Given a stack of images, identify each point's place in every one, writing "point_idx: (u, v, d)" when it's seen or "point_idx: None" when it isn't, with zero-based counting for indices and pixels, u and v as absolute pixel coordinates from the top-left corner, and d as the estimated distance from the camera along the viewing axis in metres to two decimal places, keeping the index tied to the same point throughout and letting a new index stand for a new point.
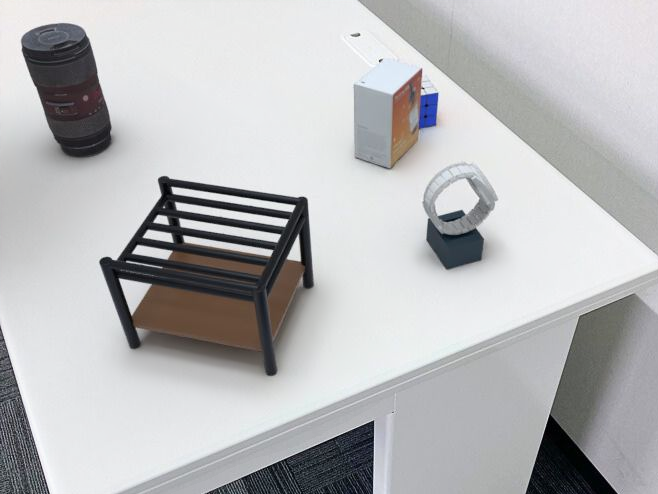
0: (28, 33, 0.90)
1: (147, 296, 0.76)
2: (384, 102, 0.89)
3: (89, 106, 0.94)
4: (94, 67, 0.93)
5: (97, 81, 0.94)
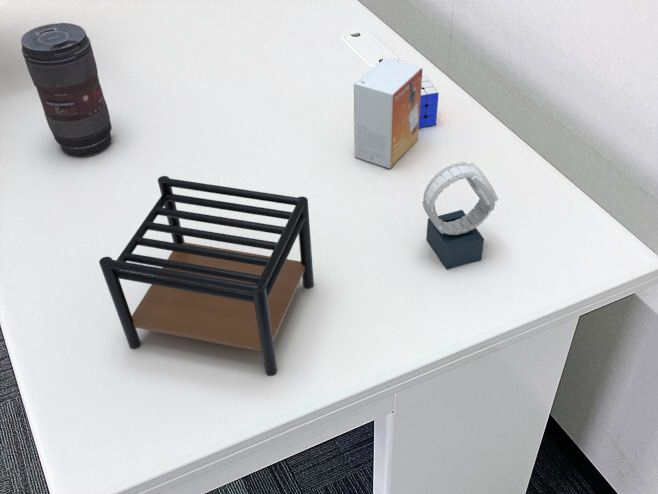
0: (28, 33, 0.90)
1: (147, 296, 0.76)
2: (384, 102, 0.89)
3: (89, 106, 0.94)
4: (94, 67, 0.93)
5: (97, 81, 0.94)
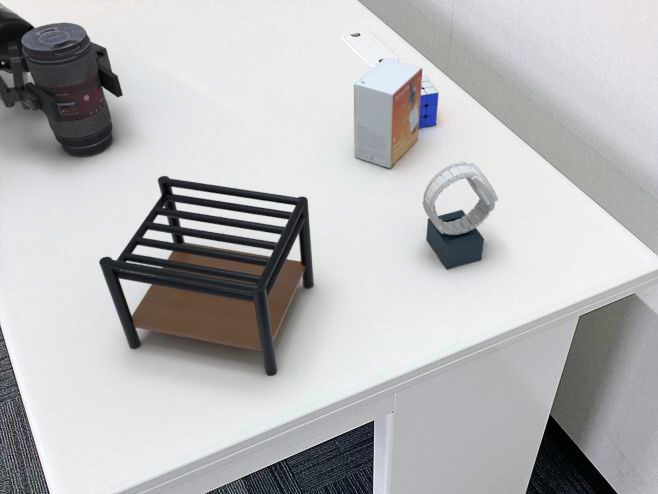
0: (29, 33, 0.90)
1: (147, 296, 0.76)
2: (384, 103, 0.89)
3: (90, 105, 0.94)
4: (95, 67, 0.93)
5: (98, 81, 0.94)
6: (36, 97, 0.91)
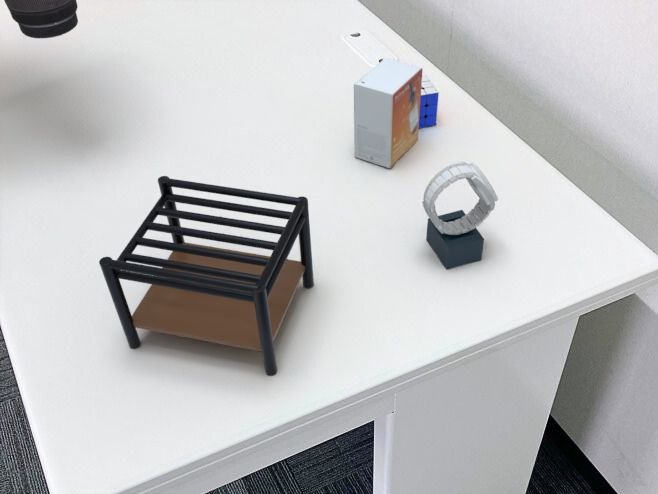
0: None
1: (147, 296, 0.76)
2: (384, 102, 0.89)
3: None
4: None
5: None
6: None
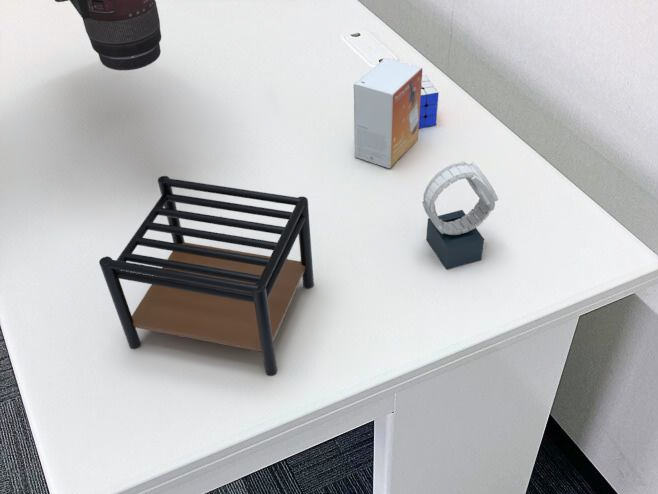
0: None
1: (147, 296, 0.76)
2: (384, 102, 0.89)
3: (130, 5, 0.75)
4: None
5: None
6: None
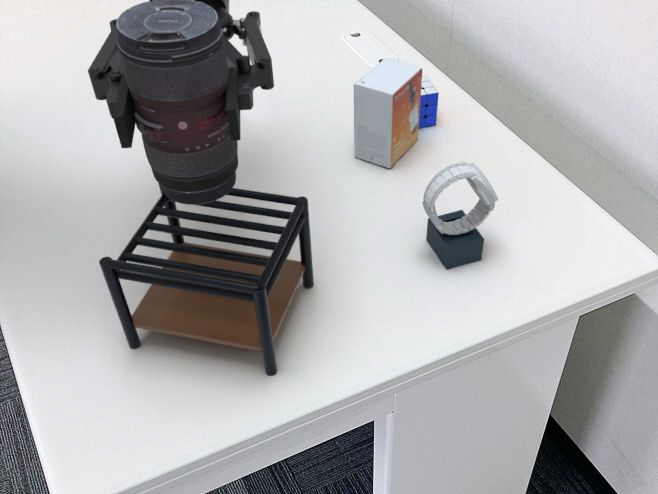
0: (146, 4, 0.58)
1: (147, 296, 0.76)
2: (384, 103, 0.89)
3: (187, 138, 0.59)
4: (211, 84, 0.57)
5: (215, 106, 0.59)
6: None
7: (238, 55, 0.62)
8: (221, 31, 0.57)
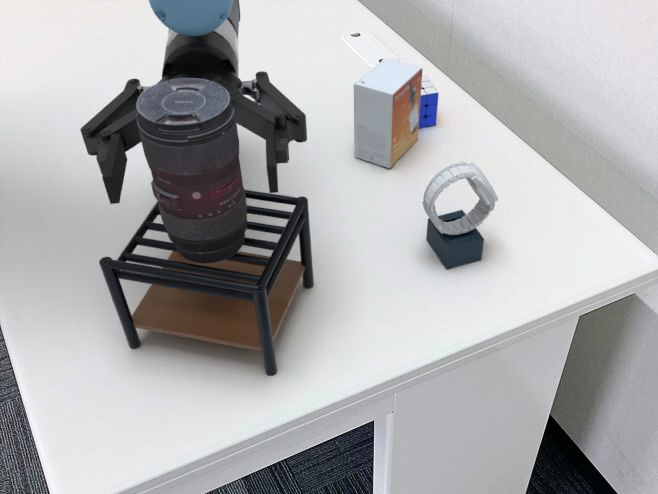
0: (163, 83, 0.62)
1: (147, 296, 0.76)
2: (384, 102, 0.89)
3: (201, 206, 0.64)
4: (223, 159, 0.61)
5: (227, 177, 0.63)
6: None
7: (270, 112, 0.68)
8: (233, 110, 0.61)
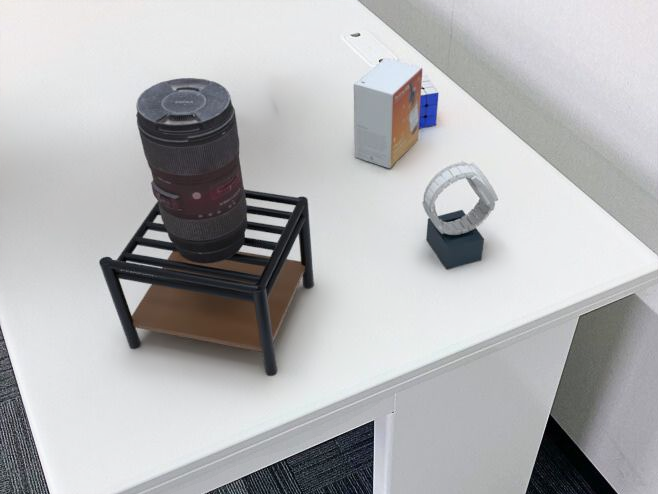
0: (164, 83, 0.62)
1: (147, 296, 0.76)
2: (384, 102, 0.89)
3: (201, 207, 0.64)
4: (223, 159, 0.61)
5: (227, 177, 0.63)
6: None
7: None
8: (233, 110, 0.61)
